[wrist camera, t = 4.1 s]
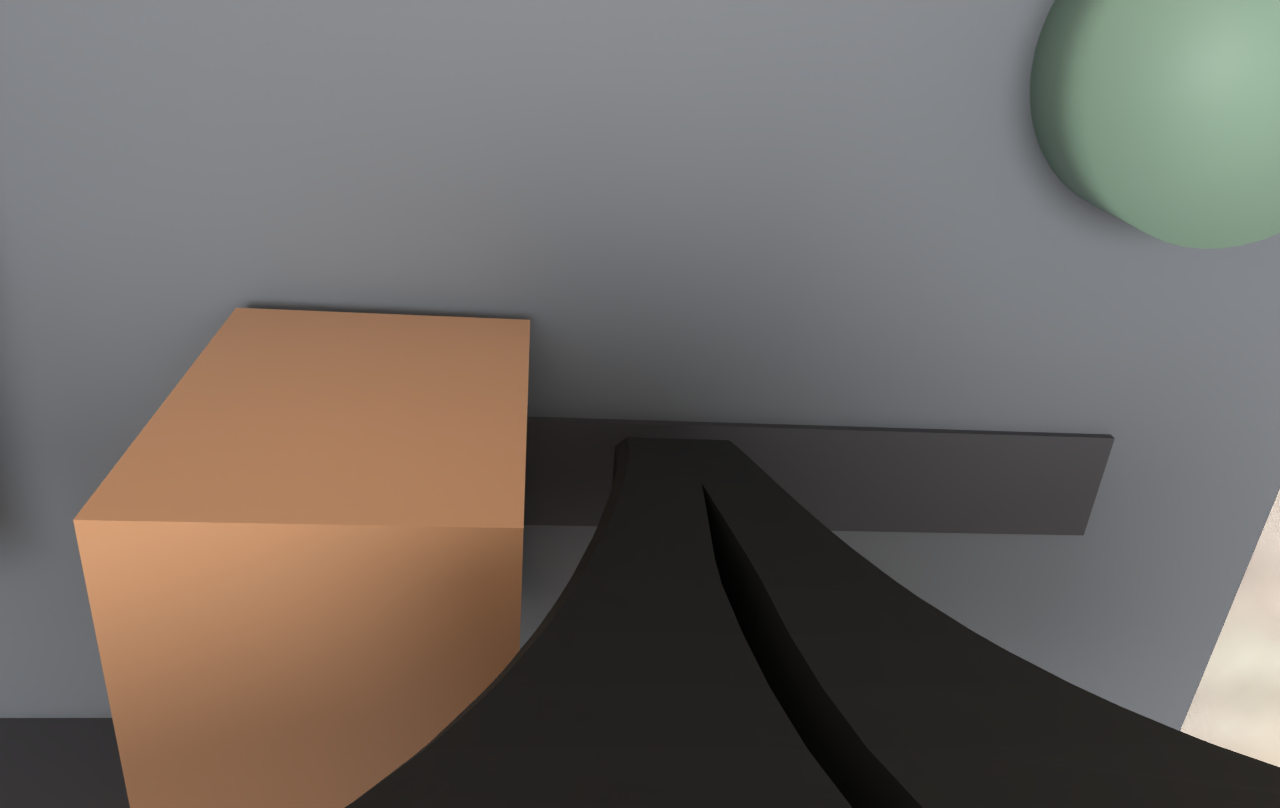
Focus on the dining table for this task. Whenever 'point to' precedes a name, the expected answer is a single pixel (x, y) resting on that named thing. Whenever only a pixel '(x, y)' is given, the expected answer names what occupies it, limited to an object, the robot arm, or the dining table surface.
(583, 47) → the control board
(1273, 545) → the dining table surface
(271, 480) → the terracotta slider
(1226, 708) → the dining table surface
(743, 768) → the robot arm
